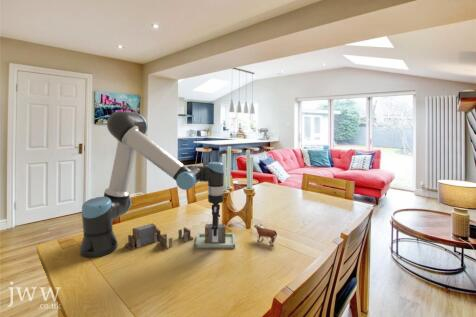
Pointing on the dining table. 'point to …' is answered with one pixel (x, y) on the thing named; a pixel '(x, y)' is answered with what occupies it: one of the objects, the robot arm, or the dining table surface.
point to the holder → (131, 240)
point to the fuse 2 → (220, 233)
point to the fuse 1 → (144, 234)
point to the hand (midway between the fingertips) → (215, 235)
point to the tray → (228, 243)
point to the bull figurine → (265, 233)
